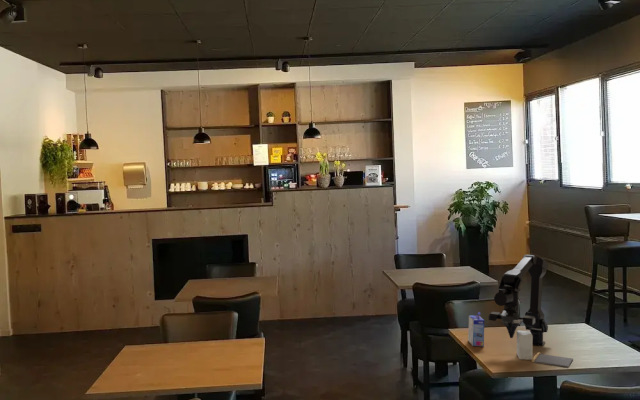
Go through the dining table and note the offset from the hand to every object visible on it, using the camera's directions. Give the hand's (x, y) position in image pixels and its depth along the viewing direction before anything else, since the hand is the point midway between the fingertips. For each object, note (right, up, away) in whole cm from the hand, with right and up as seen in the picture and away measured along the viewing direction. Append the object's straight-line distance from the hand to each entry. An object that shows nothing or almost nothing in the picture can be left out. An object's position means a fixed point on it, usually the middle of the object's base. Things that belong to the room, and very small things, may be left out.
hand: (511, 337), depth 258 cm
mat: (+14, -8, -9) cm, 19 cm away
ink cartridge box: (-11, -7, +18) cm, 22 cm away
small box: (+5, -8, -3) cm, 9 cm away
